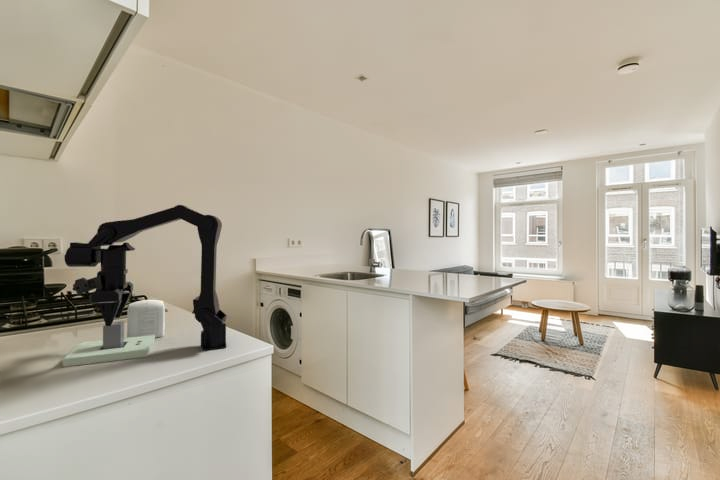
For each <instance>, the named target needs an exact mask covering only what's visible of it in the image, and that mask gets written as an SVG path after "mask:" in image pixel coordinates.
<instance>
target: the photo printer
mask: <svg viewBox="0 0 720 480" xmlns="http://www.w3.org/2000/svg"><path fill="white" fill-rule="evenodd" d="M126 315H127V316H126V317H127V318H126V319H127V320H126V322H127V323H126V324H127V325H126V338H129V337H139V336H149V335H155V338H161V337H164V336H165V332H166V331H165V330H166V329H165V322H166V320H165V319H166V307H165V303H164V301H163V300H160V299H143V300H138V301H134V302H131V303H129V306H128V307H127V314H126Z"/></svg>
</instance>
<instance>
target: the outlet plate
mask: <svg viewBox="0 0 720 480" xmlns="http://www.w3.org/2000/svg"><path fill="white" fill-rule="evenodd" d="M155 341H156V337H155V335H149V336H139V337H129V338H127V337H124V347H123V348H114V349H105V350H103V339H101V340H100V339H99V340H90V341H83V342H81V343H80V344H79V345H77V346H76V347H75V348H74V349H73V350H72V351H71V352H70V353H68V354H67V355H66V356H65V357H64V358H63V359H62V367H63V368H65V367H73V366H81V365H90V364H98V363H107V362H113V361H121V360H129V359H131V360H132V359H138V358H145V357H149V355H150V352H151V350H152V348H153V346H154V344H155V343H156V342H155Z"/></svg>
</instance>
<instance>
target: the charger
mask: <svg viewBox="0 0 720 480" xmlns="http://www.w3.org/2000/svg"><path fill="white" fill-rule="evenodd" d="M124 338H125V321H124V320H122V321H121V320H120V321H113V322H112V325H111V326H106V325H105V324H104V325H103V326H102V340H103V350H105V349H114V348H123V347H124Z"/></svg>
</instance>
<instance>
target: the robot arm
mask: <svg viewBox="0 0 720 480" xmlns="http://www.w3.org/2000/svg"><path fill="white" fill-rule="evenodd" d="M179 220H183V221H185V222H187V223H188V224H191V225H193V226H195V227H197V232H198V233H197V234H198V237H199V240H200V244H201V262H200V293H199V295H197V296H196V297H195V298H194V299H192V305H193V311H192V313H191V314H192V315H194V319H195V320H196V321H197V322H198V323H200V325H201V328H202V330H201V331H200V347H201V348H202V351H207V350H209V351H210V350H217V349H224V348H227V324H226V323H225V322H226V321H227V320H226V319H227V317H228V315H227V314H226V313H225V312H223V310H221V308H220V303H219V297H218V294H217V291H216V288H217V287H216V285H217V284H216V283H217V279H216V278H217V248H218V247H217V246H218V243H219V239H220V237H221V231H222V226H223V225H222V220H220V219H219V217H217V216H214V215H211V214H203V213H201V212H198V211H196V210H193V209H191V208H189V207H188V206H187V205H183V204H177V205H175V206H173V207H170V208H166V209H163V210H160V211H156V212H153V213H149V214H145V215H143V216H140V217H136V218H132V219H131V218H130V219H124V220H114V221H108V222H103V223H102V224H100V225H99V226H98V228H97V232H96V234H94V236H93V237H92V238H91V239H90V240H89V241H88V242H87V243H85V242H78V241H77V242H76V241H75V242H70V243H69V247H68V248H67V249H66V252H65V254H64V257H63V258H64V259H63V260H64V264H65V265H66V266H67V267H69V268H74V267H75V268H95V267H96V266H97V265H98V264H100V270H99V271H97V273H96V276H95V277H92V278H85V277H81V278H78V279H75V280H74V284H72V287H73V288H72V291H75V292H76V294H77V296H80V295H83V294H85V293H87V292H90V291H92V290H94V291H92V293H91V294H89V296H88V297H89V299H88V302H89V304H91V305H92V306H95V307H97V308H98V309H99V310H100V312H101V315H102V318H103V320H104V323H105V324H104V325H106V326H111V325H112V322H114V319H119V318H121V315H122V314H123V311H124V309H125V307H126V305H127V302H129V299H130V297H131V295H132V293H133V291H134V284H133V283H132V282H131V281H127V274H128V273H129V270H128V268H127V252H130V251H135V250H136V248H135V247H133V246H132V245H131V244H130V243H129V242H126V241H127V240H129V239H132V238H134V237H135V236H137V235H138V234H141V233H143V232H145V231H149V230H151V229H155V228H158V227H161V226H164V225H168V224H170V223H174V222H177V221H179ZM116 243H117V244H116ZM119 243H122V244H119ZM102 247H107V248H102Z"/></svg>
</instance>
